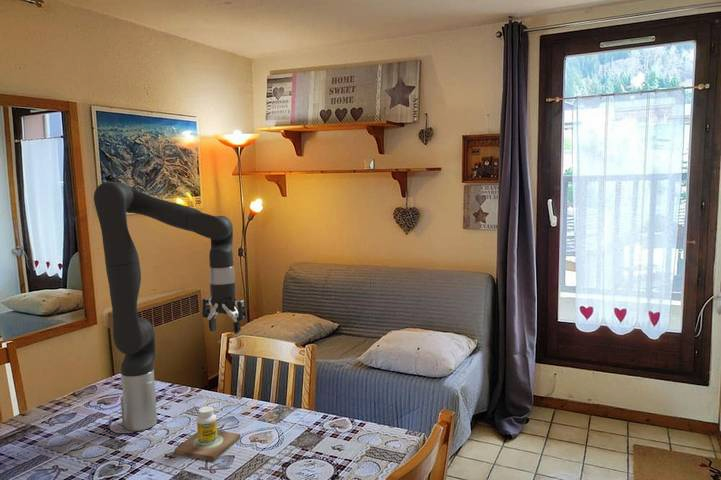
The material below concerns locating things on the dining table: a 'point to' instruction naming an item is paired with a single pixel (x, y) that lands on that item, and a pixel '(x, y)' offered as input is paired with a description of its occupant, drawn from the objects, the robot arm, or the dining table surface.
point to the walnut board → (207, 446)
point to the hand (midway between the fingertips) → (225, 332)
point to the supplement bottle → (207, 426)
